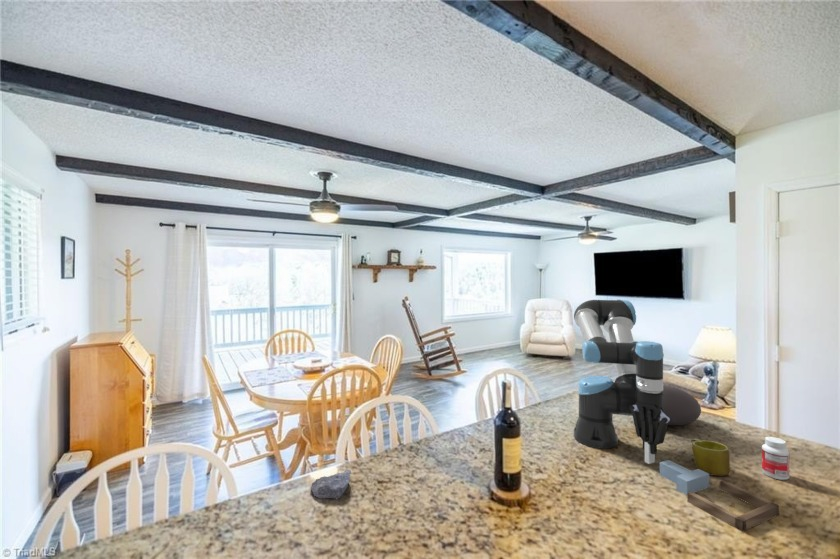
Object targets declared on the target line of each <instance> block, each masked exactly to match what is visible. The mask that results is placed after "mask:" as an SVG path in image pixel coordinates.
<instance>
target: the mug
mask: <svg viewBox="0 0 840 559" xmlns="http://www.w3.org/2000/svg"><path fill="white" fill-rule="evenodd" d="M690 441H691V442H690V443H691V449H692V455H693V460H694V464H695V468H697V469H700V470H702V471H704V472H706V473H709V476H710V475H712V476H717V477H720V476H721V477H722V476H723V477H725V476H728V475H729V476H730V473H731V461H730V459H731V457H730V454H731V453H730V449H729V447H728V446H726V444H723V443H720V442H718V441H714V440H713V441H712V440H700V439H699V438H692V439H691V440H690Z"/></svg>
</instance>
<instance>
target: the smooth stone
mask: <svg viewBox="0 0 840 559" xmlns="http://www.w3.org/2000/svg"><path fill="white" fill-rule="evenodd" d="M661 392H662V393H663V405H662V408H663V410H664V414H665V415H666V416H667V417H671V421H670V422H669V423H668V426H682V425H689V424H691V423H693V422H695V421H696V420H698V419H699V418H700V416H701V413H702V408H701V405H700V403H699V401H698V400H697V399H696V398H695V397H694V396H693V395H691V394H690V393H688V392H687V391H685V390H684V389H680V388H679V387H676V386H671V385H668V384H667V385H666V384H663V391H661ZM660 418H661V416H660V417H659V422H660ZM659 422H658V424H659Z"/></svg>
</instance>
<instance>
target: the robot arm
mask: <svg viewBox="0 0 840 559" xmlns="http://www.w3.org/2000/svg"><path fill="white" fill-rule="evenodd" d="M573 320H574V322H575V325H576V326H578V327H579V329H580V331H581V334H582V337H583V340H584V342H583V343H582V347H581V348H582V349H581V350H582V359H583V360H584V362H586V363H587V362H588V363H593V364H614V366H615V369H616V373H617V377H615V378H614V381H613V379H612V378H611V377H609V376H603V375H592V376H591V375H590V376H587V377H584V378H581V379H580V380H579V382H578V391H577V393H578V417H577V420H576V423H575V426H574V429H573V437H574V440H576V441H577V442H578V443H580V444H583V445H586V446H587V447H590V448H591V447H592V448H597V449H613V448H615V447H617V446H618V444H619V436H618V434H617V433H616V430H615V426H614V422H613V416H614V415H619V416H631V417H632V419H633V425H634V429H635V433H636V436H637V438H640V439H641V440H642V450H643V451H644V463H646V464H648V465H650V464H653V463H655V462H656V458H655V457H656V454H657V453H658V445H662V444H664V441H665V438H666V433H667V429H668V426H669V425H668V423H669V422H670V421H671V417H667V416H666V415H665V414H664V410H663V408H662V405H663V393H662V392H661V391H663V385H664V348H663V345H662V344H661V343H659V342H655V341H647V340H646V341H643V340H640V341H634V337H633V334H632V330H633V328H634V326H635V325H636V323H637V314H636V309H635V306H634V305H633V303H632V302H631V301H629V300H626V299H589V300H586V301H584V302H582V303H581V304H579V305H578V306H577V307H576V308H575V310H574V313H573ZM601 326H603V329H604V331H605V332H606V333H608V335H609V341H608V340H607V338H606V335H605V333H604V332H603V329H602V327H601ZM660 416H661V418H660V422H659V417H660ZM658 422H659V423H658Z"/></svg>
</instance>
